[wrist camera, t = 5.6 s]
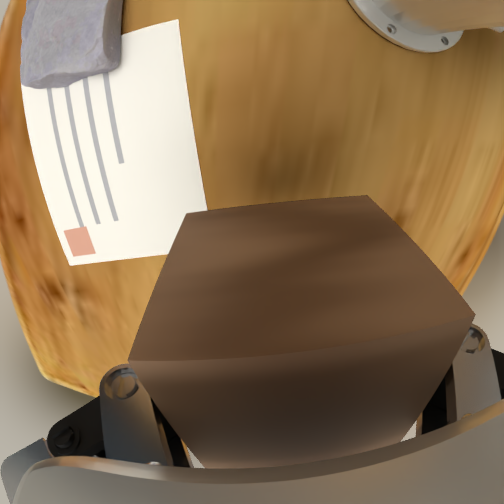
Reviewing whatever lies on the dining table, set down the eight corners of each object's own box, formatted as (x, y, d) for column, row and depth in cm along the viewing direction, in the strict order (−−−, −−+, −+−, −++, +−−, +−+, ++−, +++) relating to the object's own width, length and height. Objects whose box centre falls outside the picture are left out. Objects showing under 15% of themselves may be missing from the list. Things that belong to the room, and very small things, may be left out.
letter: (178, 19, 16) (177, 19, 16) (214, 247, 26) (214, 248, 26) (22, 81, 17) (20, 82, 17) (71, 264, 27) (70, 265, 27)
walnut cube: (367, 195, 9) (475, 314, 4) (353, 326, 12) (395, 447, 7) (186, 213, 9) (127, 360, 4) (217, 341, 12) (208, 472, 7)
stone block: (48, 95, 19) (130, 70, 18) (11, 100, 15) (91, 66, 14) (56, -7, 14) (139, -45, 12) (23, -13, 10) (108, -64, 8)
